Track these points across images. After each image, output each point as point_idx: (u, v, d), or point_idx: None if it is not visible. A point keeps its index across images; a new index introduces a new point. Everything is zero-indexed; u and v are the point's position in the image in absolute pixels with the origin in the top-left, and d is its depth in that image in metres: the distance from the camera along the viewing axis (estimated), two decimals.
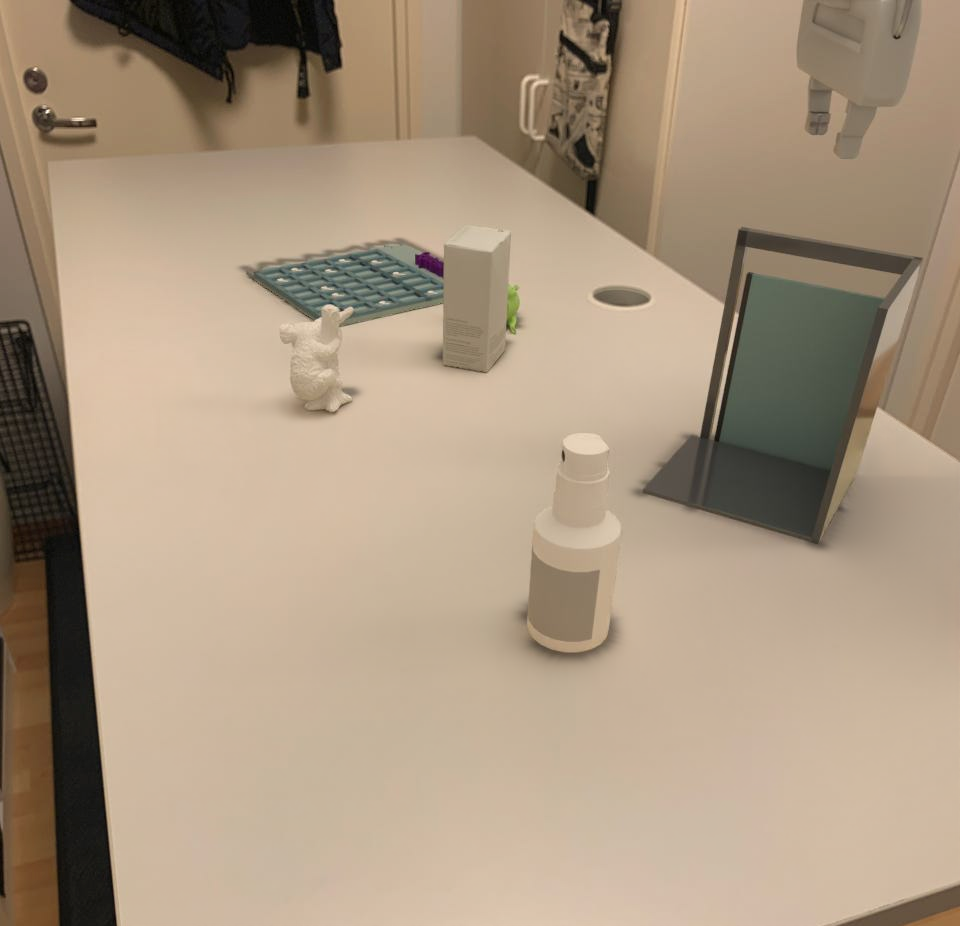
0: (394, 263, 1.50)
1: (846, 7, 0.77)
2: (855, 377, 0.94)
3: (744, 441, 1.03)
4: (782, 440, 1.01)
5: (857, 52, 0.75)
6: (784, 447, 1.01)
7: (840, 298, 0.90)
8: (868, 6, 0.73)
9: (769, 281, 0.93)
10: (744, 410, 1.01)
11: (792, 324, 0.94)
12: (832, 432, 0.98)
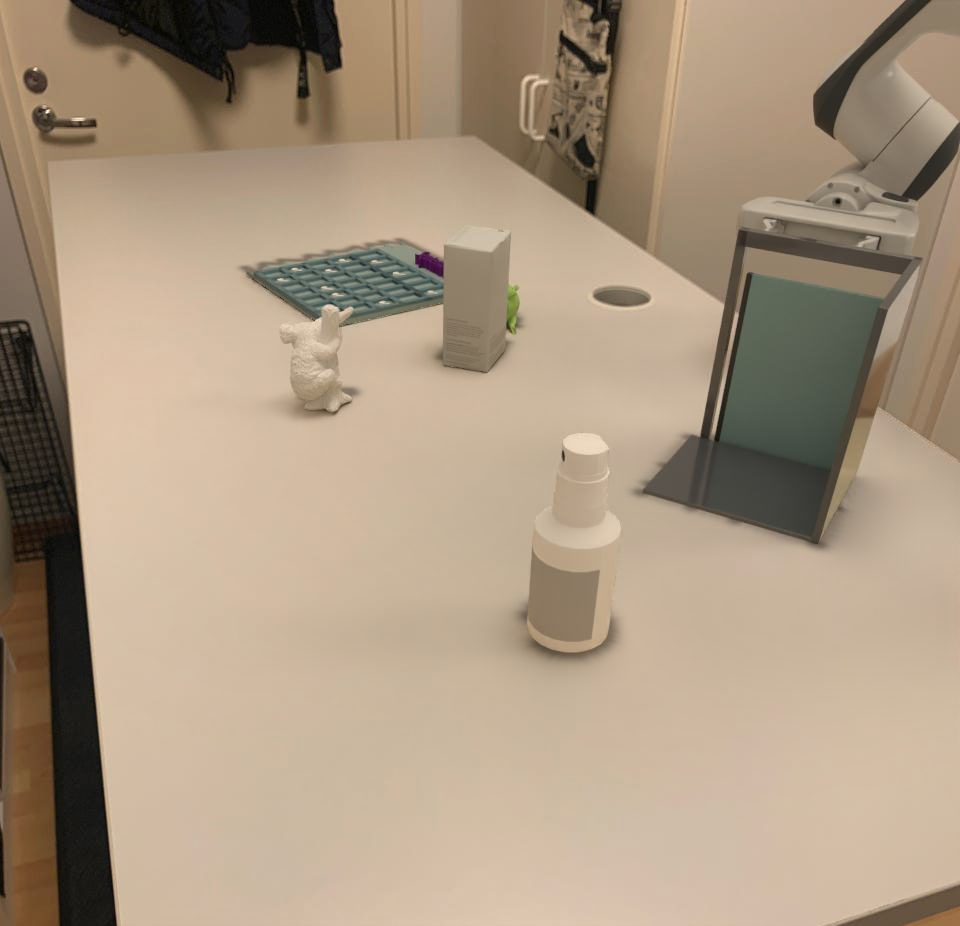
0: (394, 263, 1.50)
1: None
2: (855, 377, 0.94)
3: (744, 441, 1.03)
4: (782, 440, 1.01)
5: None
6: (784, 447, 1.01)
7: (840, 298, 0.90)
8: None
9: (769, 281, 0.93)
10: (744, 410, 1.01)
11: (792, 324, 0.94)
12: (832, 432, 0.98)
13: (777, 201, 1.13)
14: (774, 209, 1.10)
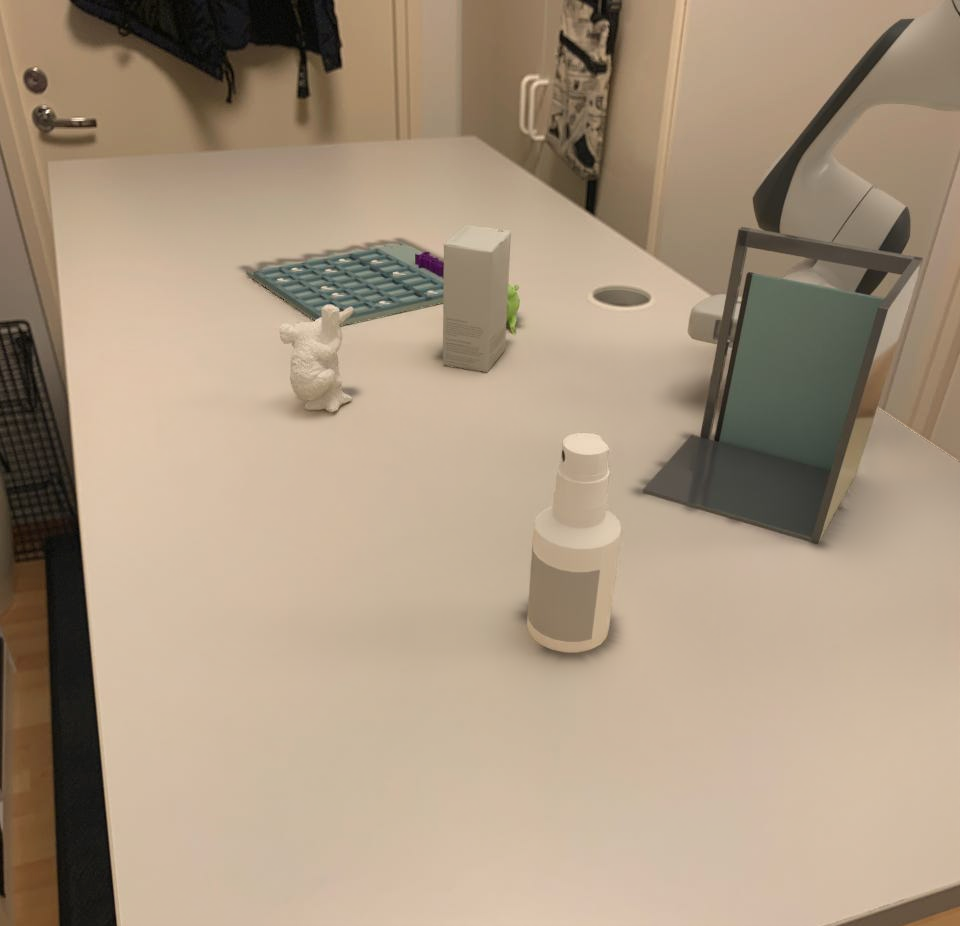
0: (394, 263, 1.50)
1: None
2: (855, 377, 0.94)
3: (744, 441, 1.03)
4: (782, 440, 1.01)
5: None
6: (784, 447, 1.01)
7: (840, 298, 0.90)
8: None
9: (769, 281, 0.93)
10: (744, 410, 1.01)
11: (792, 324, 0.94)
12: (832, 432, 0.98)
13: None
14: None
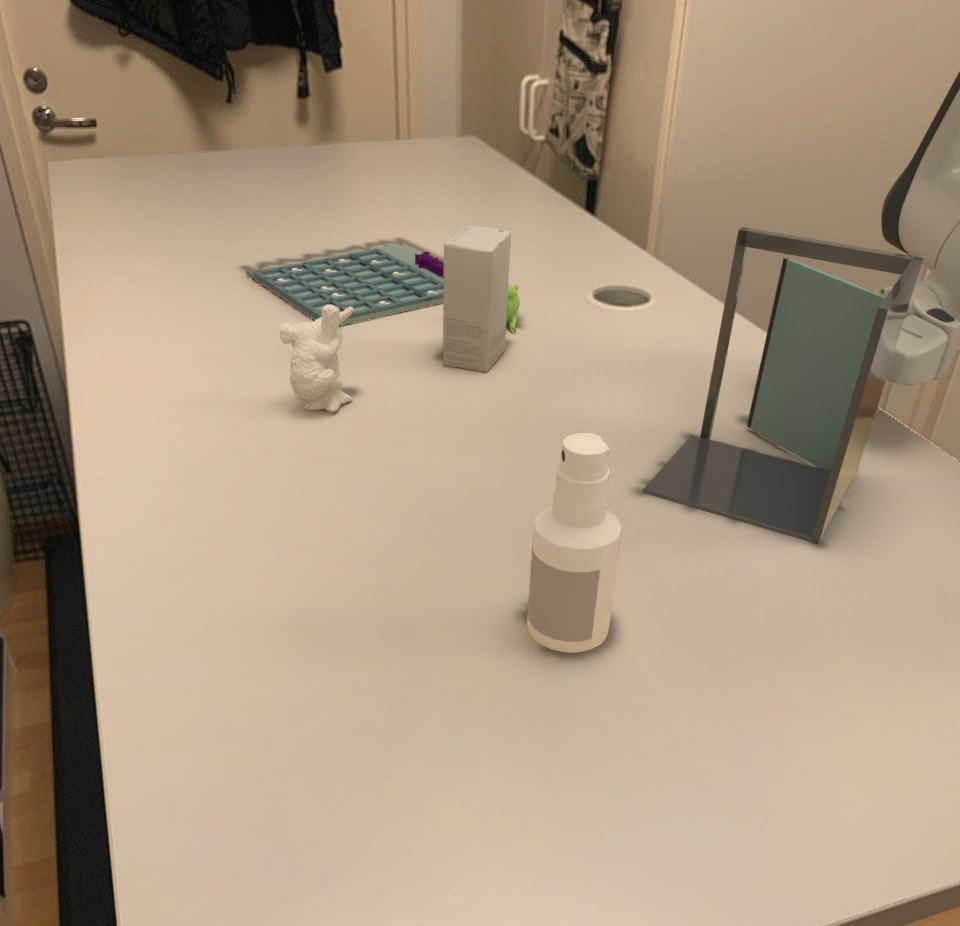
0: (394, 263, 1.50)
1: None
2: (857, 375, 0.94)
3: (769, 425, 1.06)
4: (797, 430, 1.03)
5: None
6: (798, 437, 1.03)
7: (851, 292, 0.92)
8: None
9: (799, 268, 0.96)
10: (772, 394, 1.05)
11: (813, 314, 0.96)
12: (835, 428, 0.98)
13: None
14: None
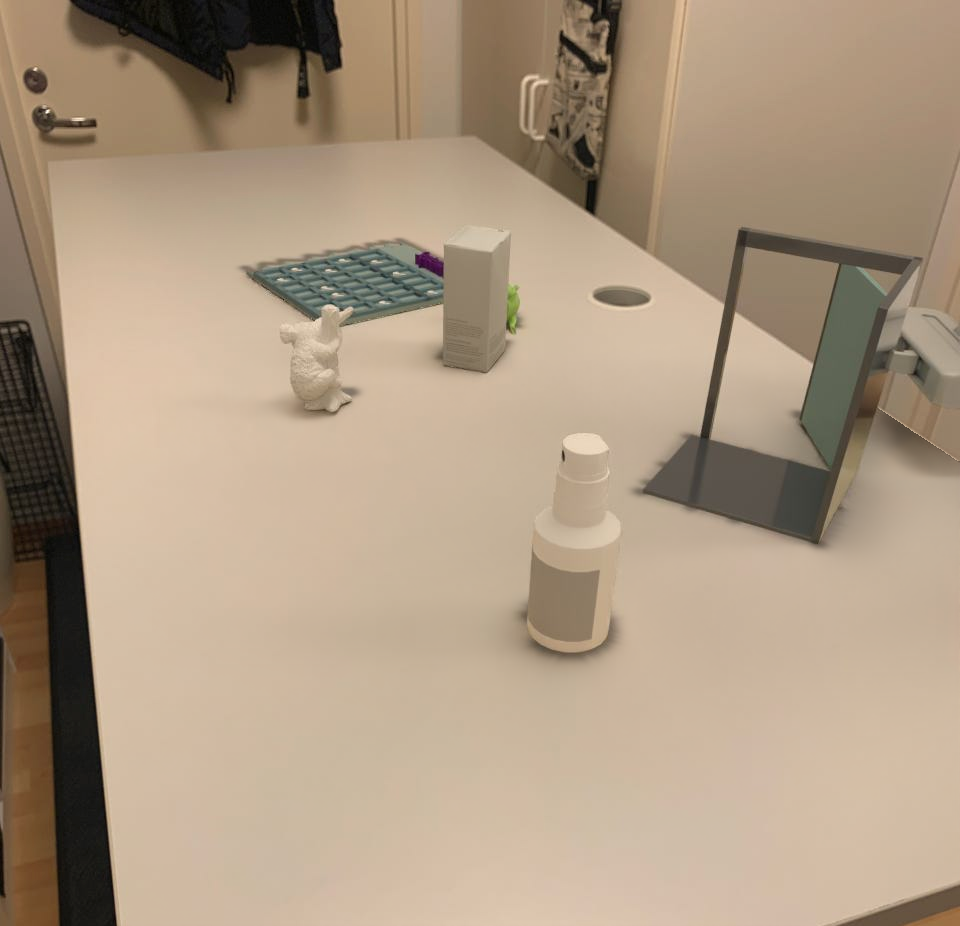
0: (394, 263, 1.50)
1: None
2: None
3: (810, 420, 1.08)
4: (824, 426, 1.04)
5: None
6: (823, 433, 1.04)
7: (870, 290, 0.92)
8: None
9: None
10: (816, 388, 1.06)
11: (848, 310, 0.97)
12: None
13: (934, 316, 1.08)
14: None
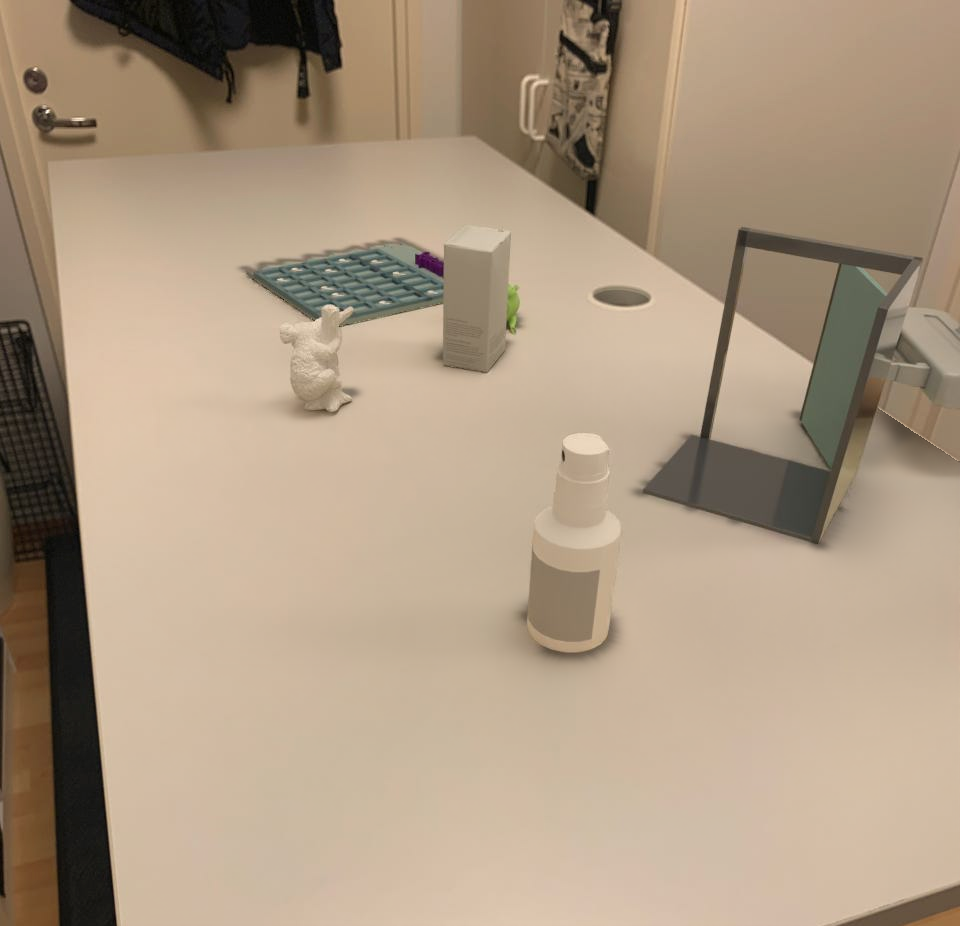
0: (394, 263, 1.50)
1: None
2: None
3: (810, 420, 1.08)
4: (824, 426, 1.04)
5: None
6: (823, 433, 1.04)
7: (870, 290, 0.92)
8: None
9: None
10: (816, 388, 1.06)
11: (848, 310, 0.97)
12: None
13: (936, 316, 1.08)
14: None
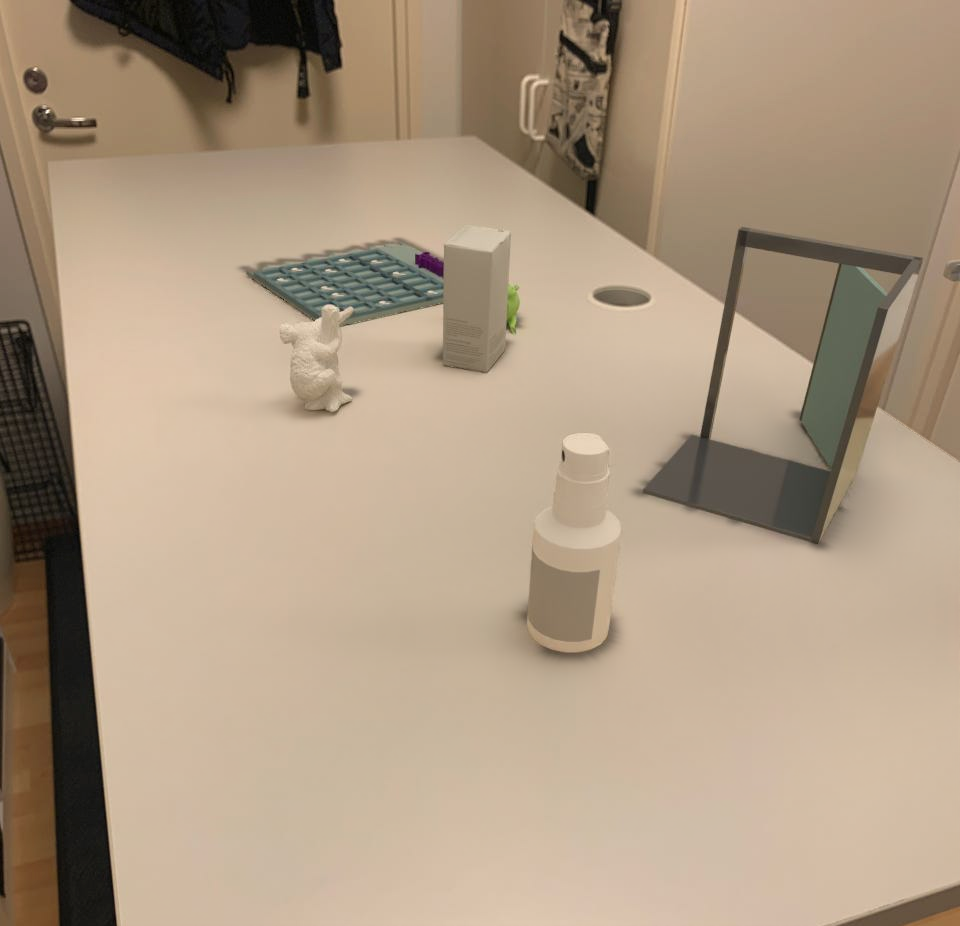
0: (394, 263, 1.50)
1: None
2: None
3: (810, 420, 1.08)
4: (824, 426, 1.04)
5: None
6: (823, 433, 1.04)
7: (870, 290, 0.92)
8: None
9: None
10: (816, 388, 1.06)
11: (848, 310, 0.97)
12: None
13: None
14: None
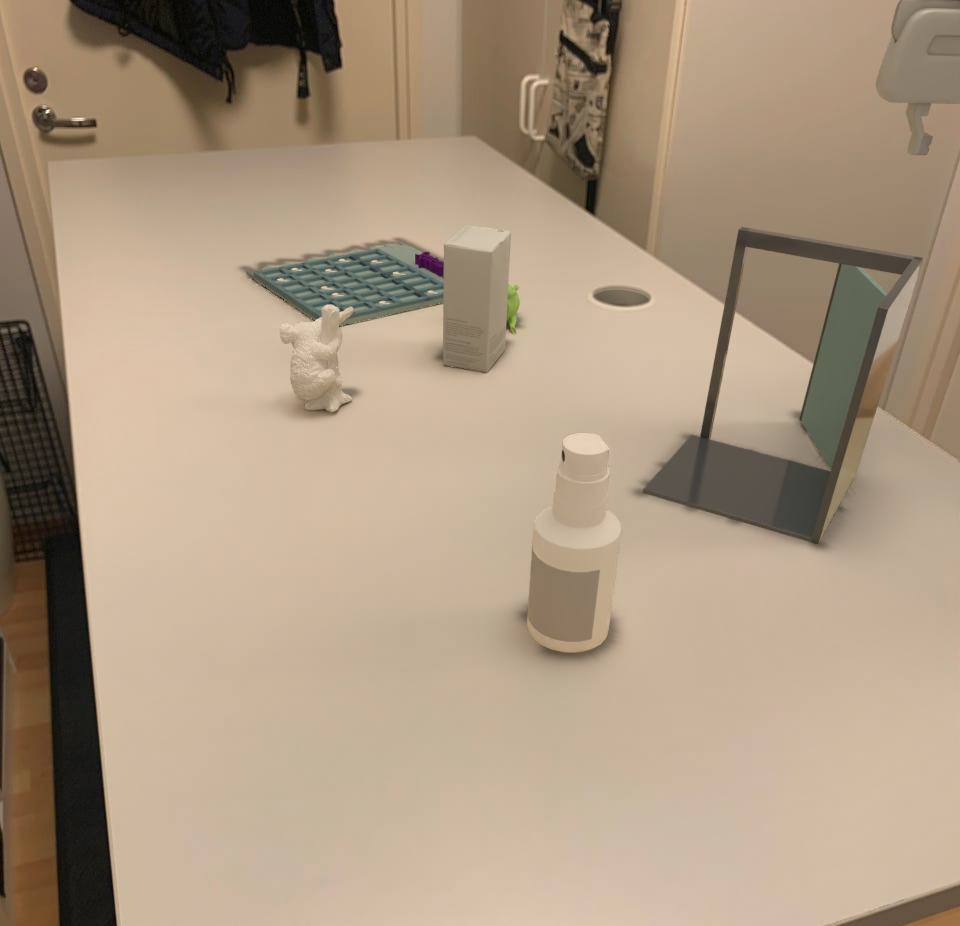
0: (394, 263, 1.50)
1: None
2: None
3: (810, 420, 1.08)
4: (824, 426, 1.04)
5: None
6: (823, 433, 1.04)
7: (870, 290, 0.92)
8: None
9: None
10: (816, 388, 1.06)
11: (848, 310, 0.97)
12: None
13: (934, 36, 0.85)
14: (929, 88, 0.88)
